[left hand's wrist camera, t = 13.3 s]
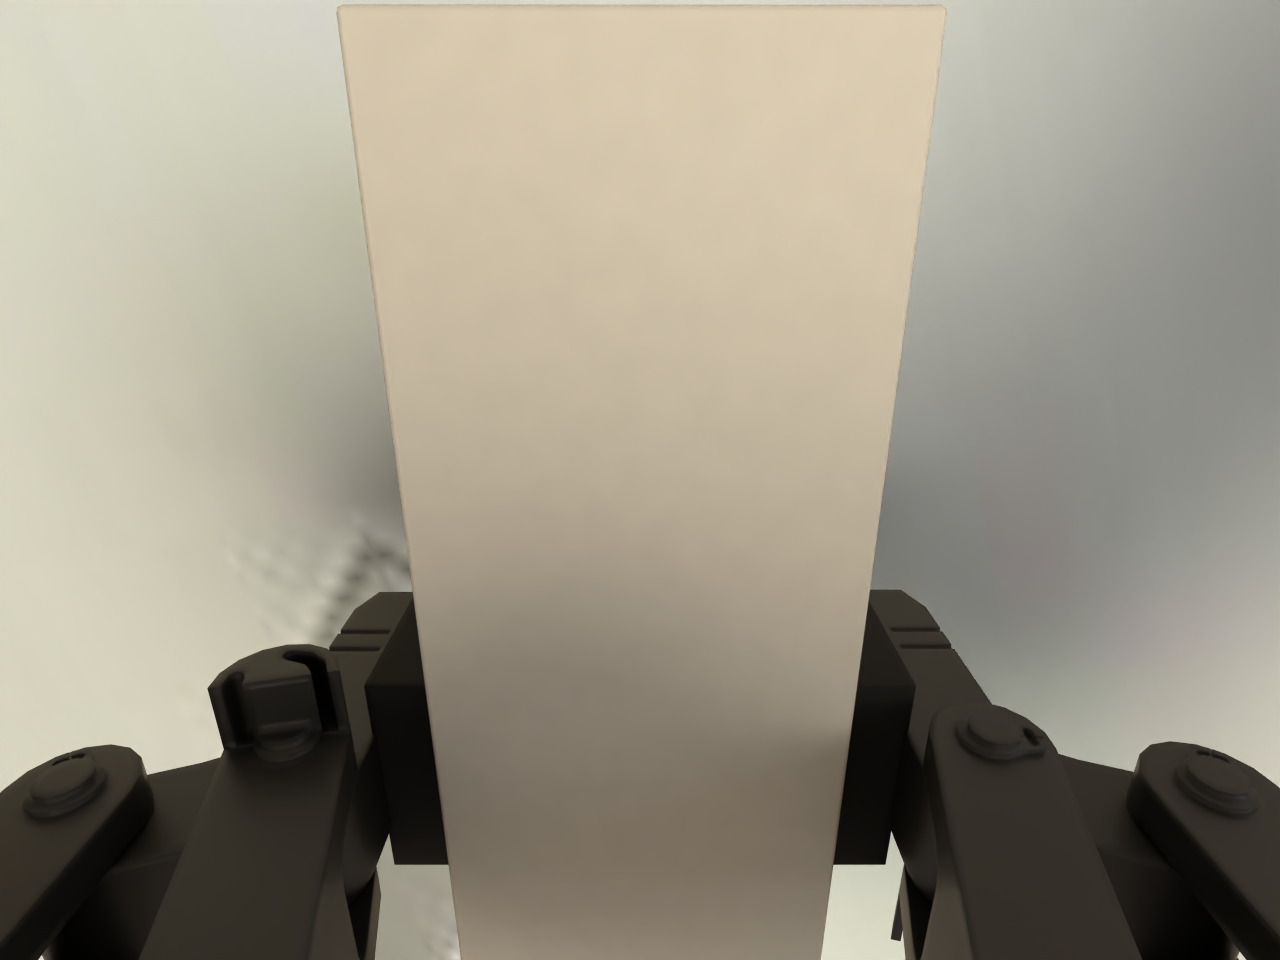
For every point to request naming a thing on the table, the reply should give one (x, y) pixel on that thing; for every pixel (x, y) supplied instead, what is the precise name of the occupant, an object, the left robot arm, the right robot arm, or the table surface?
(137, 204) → the table surface
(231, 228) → the table surface
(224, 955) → the left robot arm
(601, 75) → the post
